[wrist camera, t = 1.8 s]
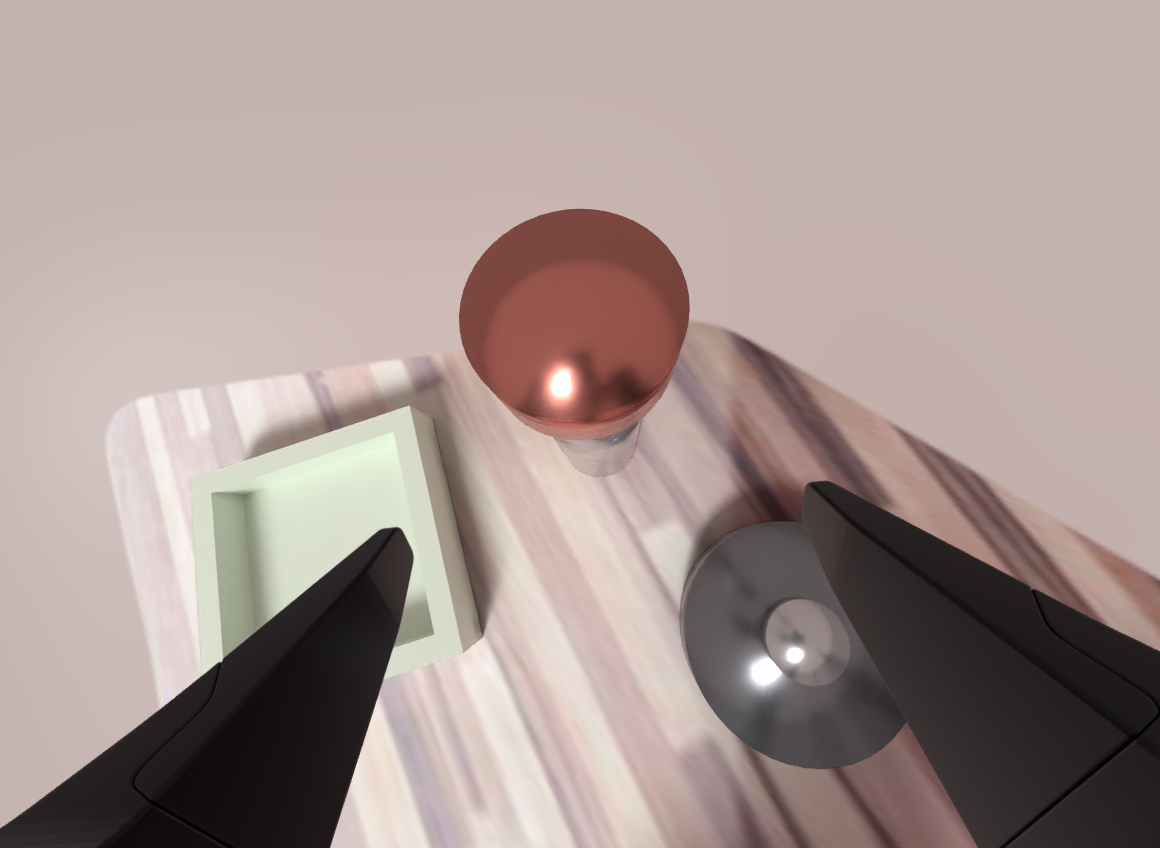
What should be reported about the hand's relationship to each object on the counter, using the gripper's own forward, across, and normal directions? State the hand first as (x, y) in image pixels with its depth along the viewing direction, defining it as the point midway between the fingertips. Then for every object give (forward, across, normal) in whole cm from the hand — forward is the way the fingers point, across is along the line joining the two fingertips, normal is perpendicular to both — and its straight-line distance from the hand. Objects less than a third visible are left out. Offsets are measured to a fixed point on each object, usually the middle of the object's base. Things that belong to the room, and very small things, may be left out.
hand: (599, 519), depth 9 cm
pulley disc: (+4, -7, +11) cm, 14 cm away
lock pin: (+11, 0, +5) cm, 12 cm away
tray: (+8, +13, +8) cm, 17 cm away
